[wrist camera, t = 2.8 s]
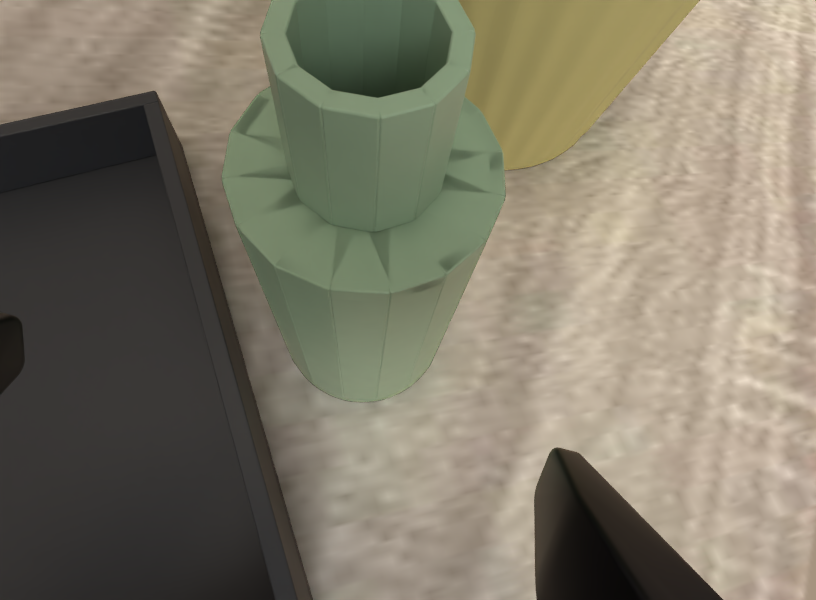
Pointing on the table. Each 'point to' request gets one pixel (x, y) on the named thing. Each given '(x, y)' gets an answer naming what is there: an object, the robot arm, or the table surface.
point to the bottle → (364, 185)
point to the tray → (126, 378)
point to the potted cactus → (558, 65)
